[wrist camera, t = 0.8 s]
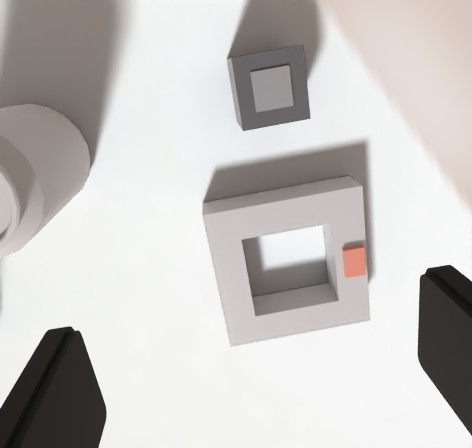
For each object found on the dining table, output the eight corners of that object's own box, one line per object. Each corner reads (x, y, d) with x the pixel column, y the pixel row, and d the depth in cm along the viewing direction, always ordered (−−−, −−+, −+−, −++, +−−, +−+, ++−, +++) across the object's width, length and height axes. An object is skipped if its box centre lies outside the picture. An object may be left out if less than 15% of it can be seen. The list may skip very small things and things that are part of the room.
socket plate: (202, 202, 33) (202, 217, 29) (348, 175, 33) (365, 187, 29) (228, 325, 37) (231, 350, 34) (357, 301, 37) (372, 323, 34)
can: (48, 81, 29) (-52, 90, 17) (114, 169, 31) (64, 227, 20) (-34, 138, 30) (-178, 181, 18) (36, 219, 32) (-52, 300, 21)
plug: (226, 59, 29) (231, 57, 24) (287, 48, 29) (303, 44, 24) (237, 121, 31) (243, 131, 26) (294, 110, 31) (310, 118, 26)
